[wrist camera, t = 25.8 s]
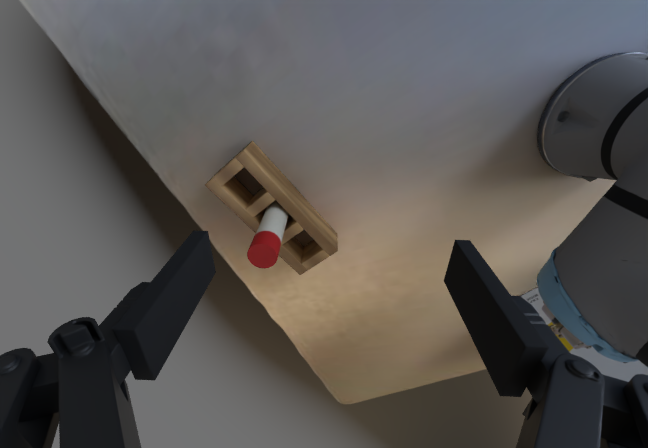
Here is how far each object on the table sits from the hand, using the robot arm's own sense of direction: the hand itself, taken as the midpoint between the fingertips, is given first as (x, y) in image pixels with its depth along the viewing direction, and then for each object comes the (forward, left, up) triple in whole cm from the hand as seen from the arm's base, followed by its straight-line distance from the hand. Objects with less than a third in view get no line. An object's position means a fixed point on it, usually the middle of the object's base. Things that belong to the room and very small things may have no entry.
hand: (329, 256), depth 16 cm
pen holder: (+13, +4, -29) cm, 32 cm away
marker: (+13, +3, -29) cm, 32 cm away
